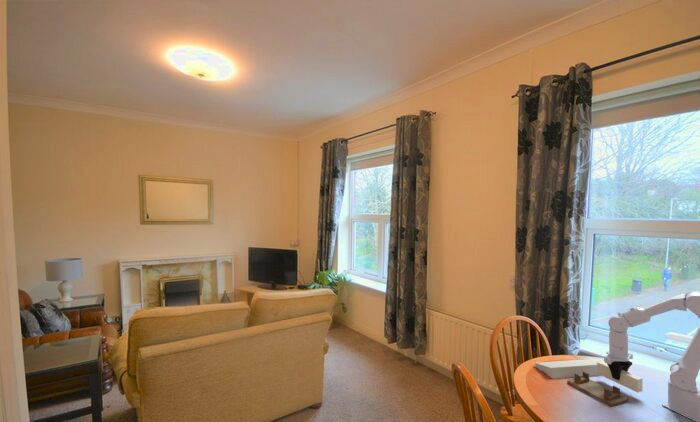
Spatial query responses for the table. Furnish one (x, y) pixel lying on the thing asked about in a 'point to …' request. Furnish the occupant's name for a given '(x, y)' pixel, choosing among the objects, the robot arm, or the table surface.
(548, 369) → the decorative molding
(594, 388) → the walnut rack
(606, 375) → the cream rectangular block
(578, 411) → the table surface
